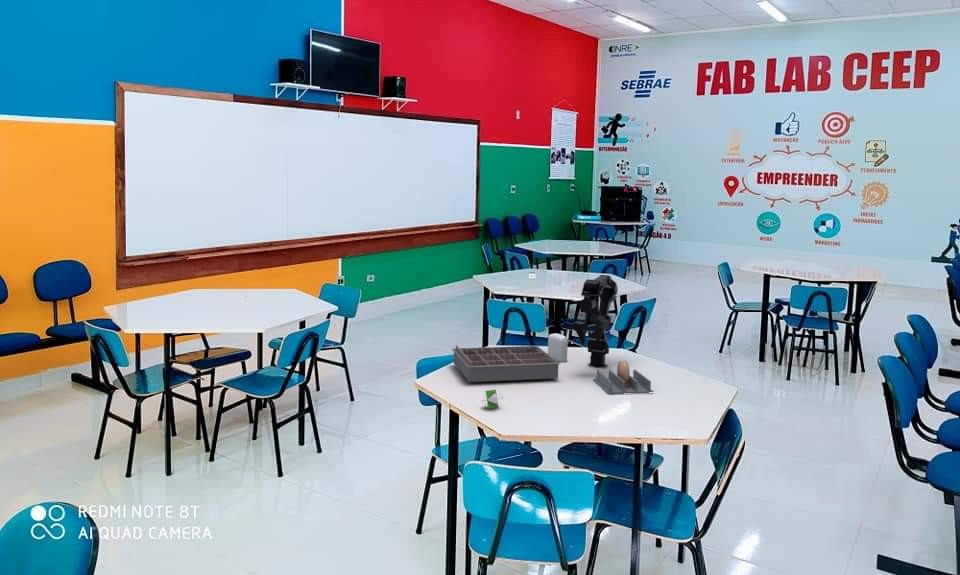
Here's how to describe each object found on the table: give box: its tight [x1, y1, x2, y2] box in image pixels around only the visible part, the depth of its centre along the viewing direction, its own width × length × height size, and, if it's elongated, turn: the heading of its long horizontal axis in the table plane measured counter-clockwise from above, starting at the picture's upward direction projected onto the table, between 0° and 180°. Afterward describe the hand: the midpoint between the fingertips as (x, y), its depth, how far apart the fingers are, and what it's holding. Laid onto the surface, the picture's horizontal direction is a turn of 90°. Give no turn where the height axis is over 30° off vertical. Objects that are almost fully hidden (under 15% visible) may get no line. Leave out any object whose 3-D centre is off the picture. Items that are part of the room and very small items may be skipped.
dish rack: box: [592, 369, 654, 395], centre depth 311 cm, size 20×19×5 cm
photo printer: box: [547, 333, 569, 363], centre depth 353 cm, size 10×4×12 cm, turn 39°
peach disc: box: [616, 360, 631, 387], centre depth 311 cm, size 9×3×10 cm, turn 9°
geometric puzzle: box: [481, 389, 504, 409], centre depth 280 cm, size 7×7×8 cm
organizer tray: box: [451, 344, 562, 383], centre depth 328 cm, size 32×40×10 cm
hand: (590, 343), depth 331 cm, fingers open, 9 cm apart
